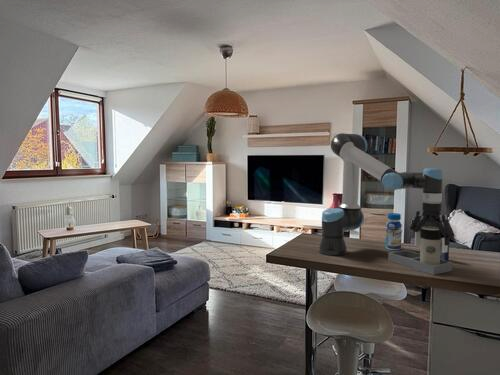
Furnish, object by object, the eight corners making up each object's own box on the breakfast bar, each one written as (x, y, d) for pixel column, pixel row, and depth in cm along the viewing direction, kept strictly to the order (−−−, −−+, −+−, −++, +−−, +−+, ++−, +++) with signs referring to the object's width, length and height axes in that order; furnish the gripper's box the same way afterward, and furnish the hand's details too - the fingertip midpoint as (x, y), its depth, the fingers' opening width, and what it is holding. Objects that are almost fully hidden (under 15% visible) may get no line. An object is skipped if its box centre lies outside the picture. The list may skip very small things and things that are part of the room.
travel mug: (422, 262, 156) (423, 225, 155) (441, 266, 151) (442, 227, 150) (418, 267, 150) (419, 228, 149) (437, 270, 145) (439, 230, 144)
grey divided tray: (388, 260, 164) (388, 252, 164) (406, 257, 170) (406, 249, 169) (433, 274, 142) (433, 266, 142) (452, 270, 148) (452, 262, 147)
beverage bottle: (392, 246, 192) (393, 212, 191) (404, 249, 184) (405, 214, 183) (382, 247, 188) (382, 213, 187) (393, 251, 181) (394, 215, 179)
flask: (429, 257, 169) (430, 236, 168) (433, 256, 170) (434, 236, 170) (446, 262, 161) (447, 240, 160) (450, 261, 162) (451, 240, 161)
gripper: (402, 200, 158) (401, 243, 160) (453, 206, 136) (451, 256, 137) (413, 199, 161) (412, 241, 163) (465, 205, 139) (463, 254, 140)
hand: (430, 248), depth 150 cm, fingers open, 13 cm apart
